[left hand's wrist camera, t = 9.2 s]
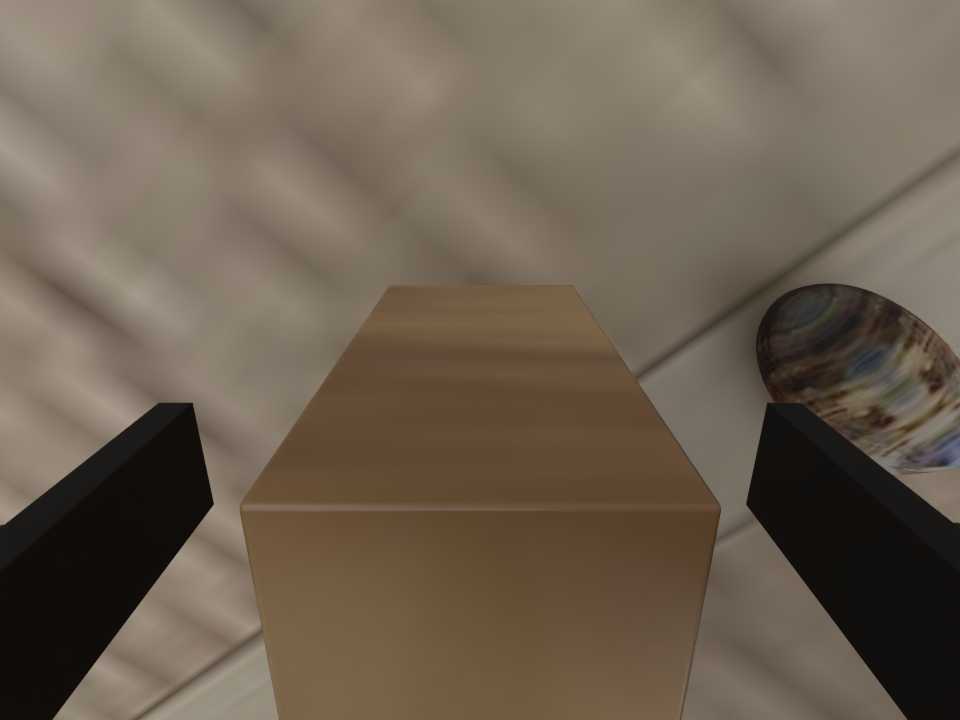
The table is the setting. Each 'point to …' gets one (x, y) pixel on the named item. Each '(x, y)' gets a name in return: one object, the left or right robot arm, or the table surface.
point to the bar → (480, 523)
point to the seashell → (865, 374)
